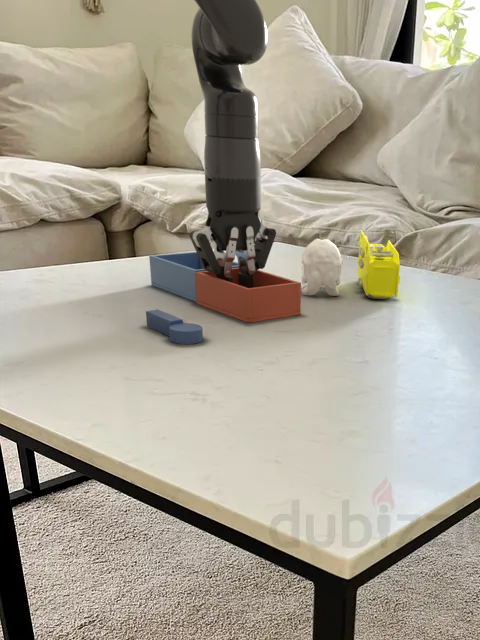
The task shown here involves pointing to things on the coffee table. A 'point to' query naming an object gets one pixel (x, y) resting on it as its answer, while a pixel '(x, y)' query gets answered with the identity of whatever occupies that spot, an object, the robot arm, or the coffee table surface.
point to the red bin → (249, 296)
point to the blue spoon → (174, 327)
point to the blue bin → (177, 273)
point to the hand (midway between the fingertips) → (235, 300)
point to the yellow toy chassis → (378, 269)
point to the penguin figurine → (321, 267)
